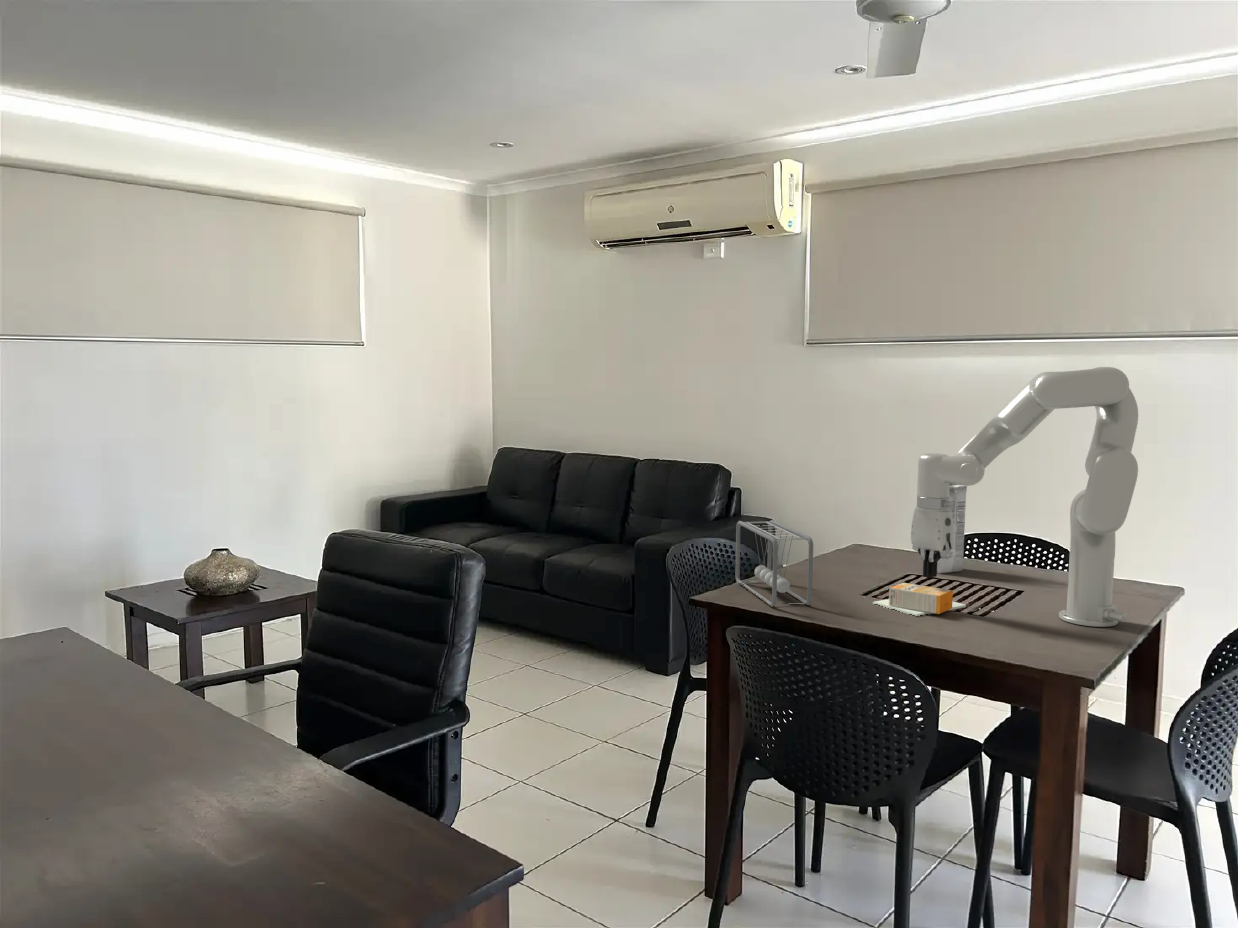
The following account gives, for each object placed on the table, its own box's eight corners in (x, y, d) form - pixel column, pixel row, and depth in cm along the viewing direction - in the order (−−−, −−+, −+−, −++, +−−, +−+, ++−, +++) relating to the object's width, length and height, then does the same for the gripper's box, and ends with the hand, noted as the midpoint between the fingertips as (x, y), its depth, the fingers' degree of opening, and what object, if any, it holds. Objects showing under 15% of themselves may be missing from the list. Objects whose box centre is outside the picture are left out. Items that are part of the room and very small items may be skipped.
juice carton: (967, 571, 273) (971, 481, 270) (939, 574, 269) (943, 482, 266) (945, 565, 281) (949, 477, 278) (918, 568, 277) (921, 479, 274)
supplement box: (940, 595, 222) (888, 586, 230) (939, 614, 222) (888, 605, 231) (953, 589, 228) (902, 581, 237) (952, 608, 228) (902, 600, 237)
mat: (965, 607, 232) (965, 604, 232) (916, 616, 223) (916, 614, 223) (921, 595, 244) (921, 593, 244) (872, 604, 235) (872, 601, 235)
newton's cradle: (734, 582, 259) (735, 519, 257) (770, 580, 261) (771, 518, 259) (772, 609, 229) (774, 539, 227) (812, 607, 231) (814, 537, 229)
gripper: (968, 506, 224) (964, 580, 226) (919, 498, 237) (916, 569, 238) (947, 508, 220) (944, 584, 222) (898, 500, 233) (896, 572, 235)
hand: (929, 576), depth 230 cm, fingers closed
